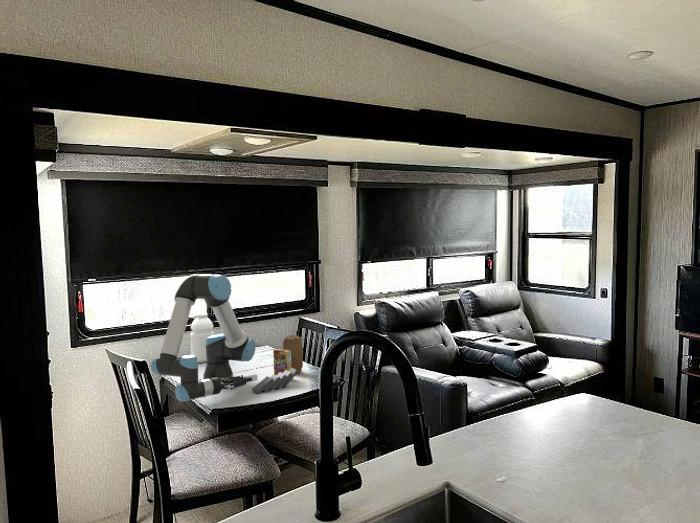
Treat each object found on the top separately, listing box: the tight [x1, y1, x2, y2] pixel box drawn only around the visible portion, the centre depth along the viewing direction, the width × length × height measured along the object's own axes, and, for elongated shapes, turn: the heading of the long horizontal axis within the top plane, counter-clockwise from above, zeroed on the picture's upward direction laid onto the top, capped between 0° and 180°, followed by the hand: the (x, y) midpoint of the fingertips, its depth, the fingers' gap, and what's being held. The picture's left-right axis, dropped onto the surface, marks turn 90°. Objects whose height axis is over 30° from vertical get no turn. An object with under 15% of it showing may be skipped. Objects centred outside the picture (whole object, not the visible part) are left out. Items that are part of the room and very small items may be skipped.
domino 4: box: [275, 370, 293, 390], centre depth 271 cm, size 5×2×10 cm
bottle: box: [189, 312, 215, 363], centre depth 324 cm, size 14×14×28 cm
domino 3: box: [269, 372, 287, 391], centre depth 269 cm, size 5×2×10 cm
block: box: [282, 334, 304, 375], centre depth 295 cm, size 11×8×20 cm
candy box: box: [272, 348, 291, 375], centre depth 285 cm, size 9×4×15 cm, turn 61°
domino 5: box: [281, 368, 298, 388], centre depth 273 cm, size 5×2×10 cm
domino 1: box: [251, 375, 274, 395], centre depth 264 cm, size 5×2×10 cm
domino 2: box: [261, 373, 280, 393], centre depth 266 cm, size 5×2×10 cm
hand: (256, 377), depth 262 cm, fingers closed
